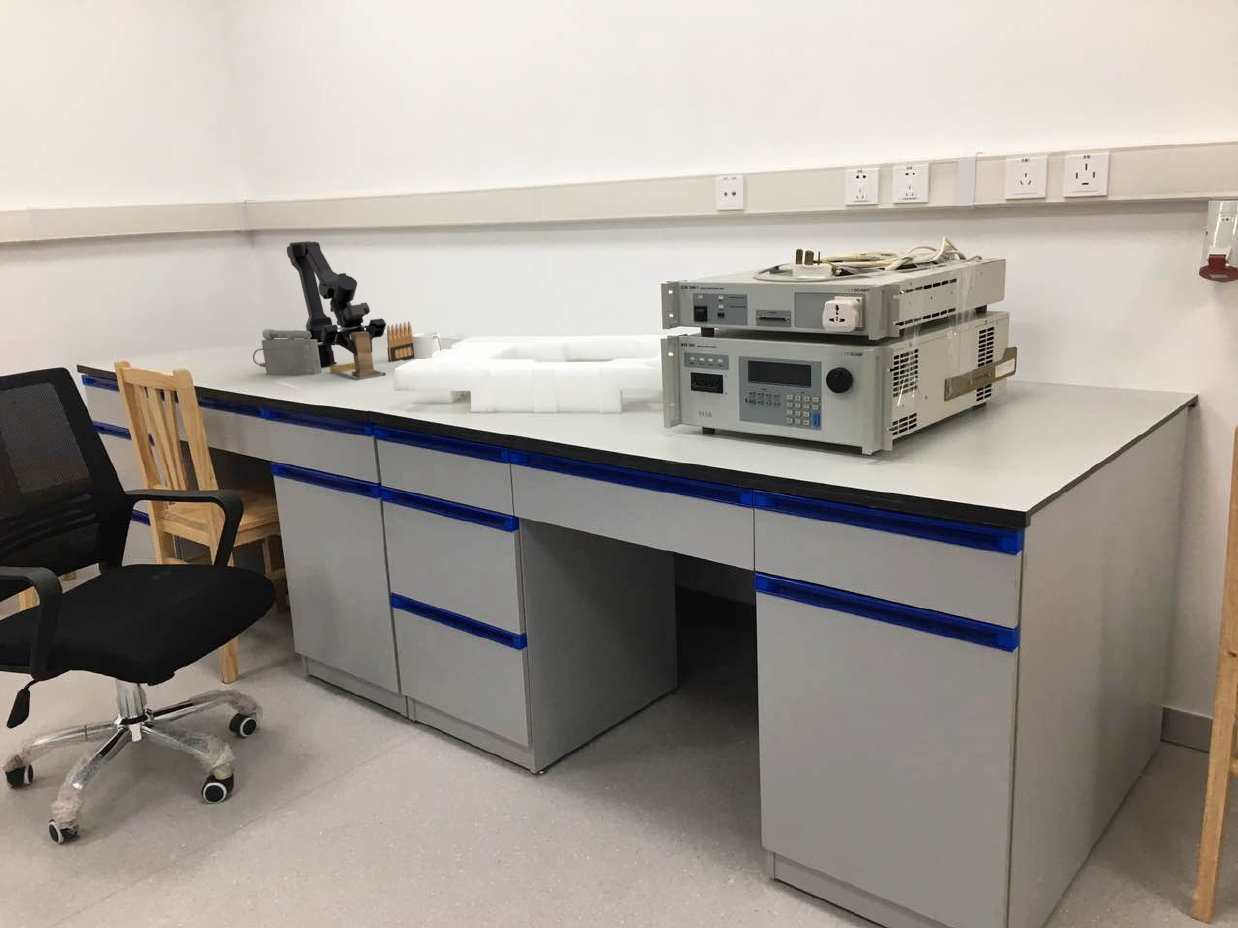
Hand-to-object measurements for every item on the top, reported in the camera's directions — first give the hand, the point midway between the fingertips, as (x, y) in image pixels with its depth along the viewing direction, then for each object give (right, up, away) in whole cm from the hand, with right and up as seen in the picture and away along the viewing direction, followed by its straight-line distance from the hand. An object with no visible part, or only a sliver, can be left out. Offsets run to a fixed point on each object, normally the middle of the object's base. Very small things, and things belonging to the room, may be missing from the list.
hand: (364, 353), depth 293 cm
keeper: (0, -6, +3) cm, 7 cm away
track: (-4, -6, +8) cm, 10 cm away
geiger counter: (-28, -5, +18) cm, 34 cm away
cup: (+18, -3, +13) cm, 22 cm away
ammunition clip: (+5, +1, +31) cm, 31 cm away
